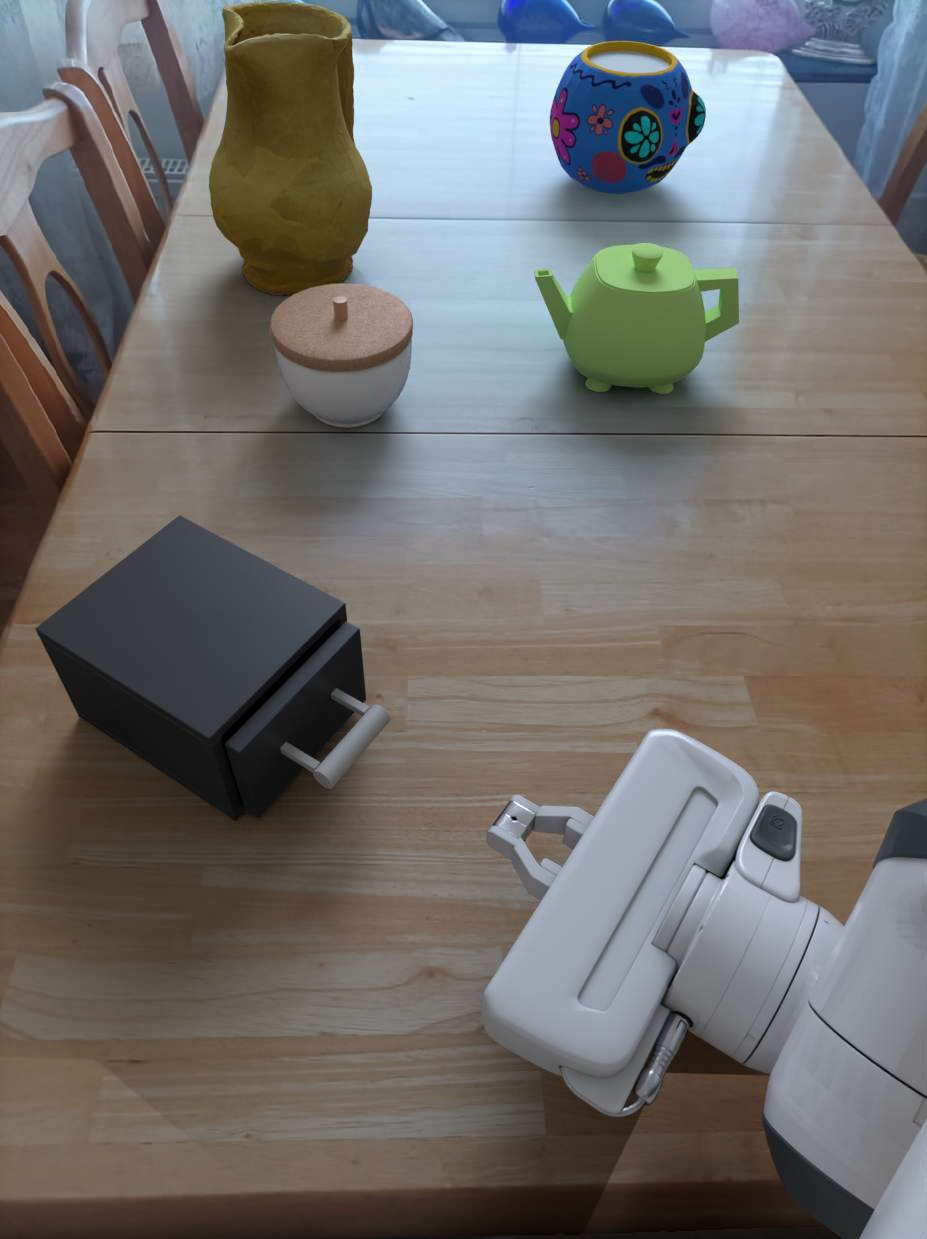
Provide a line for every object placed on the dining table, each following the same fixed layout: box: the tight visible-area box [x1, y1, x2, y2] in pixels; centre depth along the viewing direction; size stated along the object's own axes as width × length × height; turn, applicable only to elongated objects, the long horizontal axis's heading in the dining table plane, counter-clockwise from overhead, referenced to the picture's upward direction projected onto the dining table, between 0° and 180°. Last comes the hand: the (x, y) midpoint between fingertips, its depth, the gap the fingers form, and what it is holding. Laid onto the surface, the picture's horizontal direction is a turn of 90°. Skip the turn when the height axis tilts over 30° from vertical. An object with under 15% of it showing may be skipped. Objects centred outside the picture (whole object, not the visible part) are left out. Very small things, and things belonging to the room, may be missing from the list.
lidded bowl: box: [269, 282, 414, 429], centre depth 85 cm, size 13×13×11 cm
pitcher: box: [208, 0, 373, 296], centre depth 97 cm, size 17×19×25 cm
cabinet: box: [34, 514, 348, 822], centre depth 63 cm, size 15×13×10 cm
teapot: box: [533, 242, 740, 395], centre depth 90 cm, size 20×13×13 cm
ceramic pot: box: [549, 40, 707, 195], centre depth 116 cm, size 18×18×15 cm
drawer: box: [220, 620, 392, 820], centre depth 61 cm, size 18×11×8 cm, turn 57°
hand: (499, 818), depth 53 cm, fingers closed
